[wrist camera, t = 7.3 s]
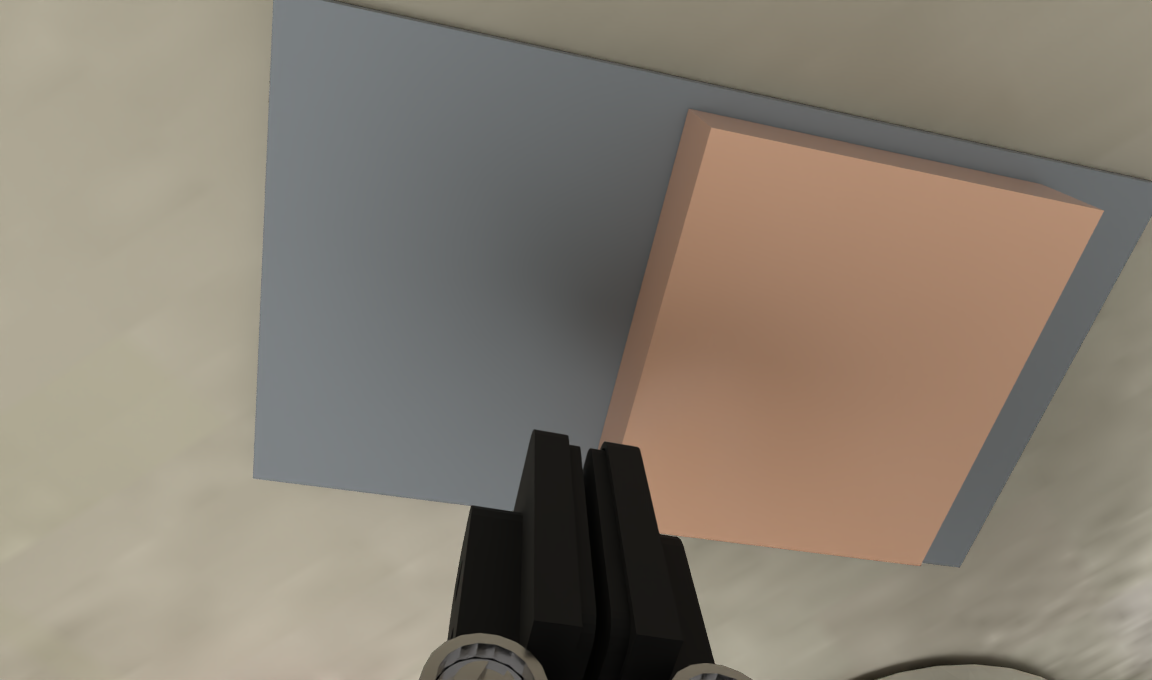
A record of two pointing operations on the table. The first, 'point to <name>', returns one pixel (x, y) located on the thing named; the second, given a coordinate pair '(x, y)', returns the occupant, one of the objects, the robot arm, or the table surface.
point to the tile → (830, 336)
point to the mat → (526, 252)
